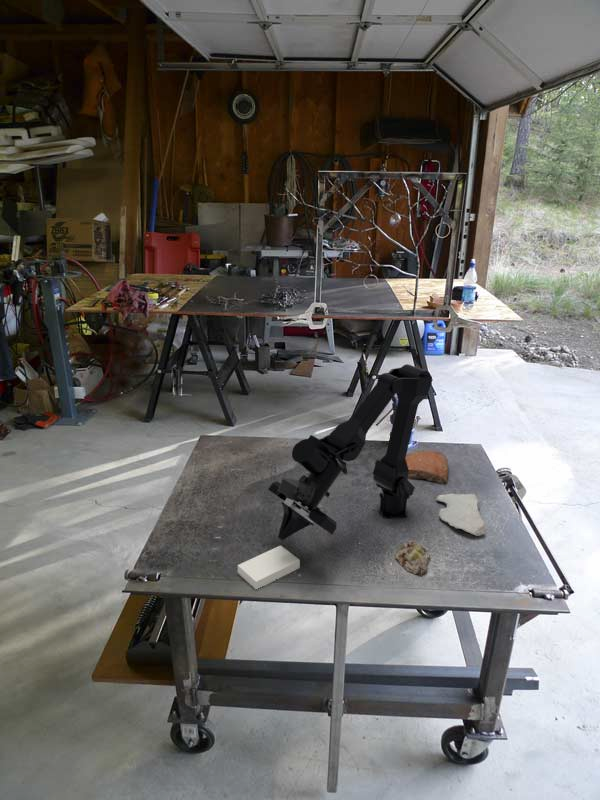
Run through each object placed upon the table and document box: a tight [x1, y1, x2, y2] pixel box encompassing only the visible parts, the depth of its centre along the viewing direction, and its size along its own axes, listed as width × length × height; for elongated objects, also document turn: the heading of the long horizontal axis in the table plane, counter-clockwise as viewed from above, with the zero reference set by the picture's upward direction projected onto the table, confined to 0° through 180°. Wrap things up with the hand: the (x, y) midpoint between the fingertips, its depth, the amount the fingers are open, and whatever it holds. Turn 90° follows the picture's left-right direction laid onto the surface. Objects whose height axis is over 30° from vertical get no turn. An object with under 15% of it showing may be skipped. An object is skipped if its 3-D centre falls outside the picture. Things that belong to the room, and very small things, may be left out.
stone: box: [436, 492, 486, 537], centre depth 156 cm, size 13×4×20 cm
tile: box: [237, 544, 301, 590], centre depth 134 cm, size 2×7×12 cm
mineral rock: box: [394, 540, 431, 576], centre depth 138 cm, size 11×4×8 cm
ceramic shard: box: [406, 450, 449, 485], centre depth 178 cm, size 15×6×15 cm
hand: (280, 538), depth 133 cm, fingers closed
